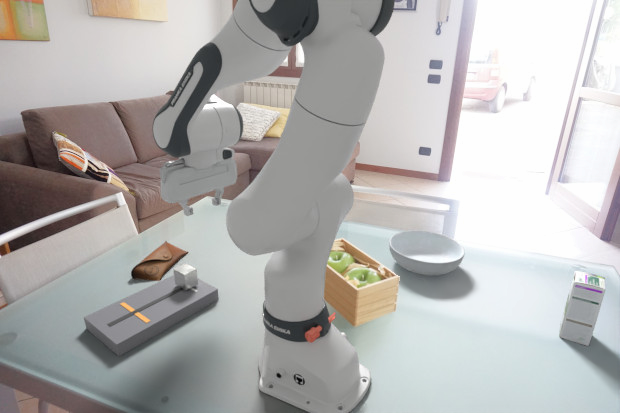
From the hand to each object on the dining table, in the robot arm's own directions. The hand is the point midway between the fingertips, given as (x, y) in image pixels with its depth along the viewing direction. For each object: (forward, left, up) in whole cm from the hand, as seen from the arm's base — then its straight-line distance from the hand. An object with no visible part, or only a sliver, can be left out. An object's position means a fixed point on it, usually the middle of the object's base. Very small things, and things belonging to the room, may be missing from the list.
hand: (203, 209), depth 101 cm
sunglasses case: (+19, +2, -22) cm, 29 cm away
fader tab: (0, +7, -18) cm, 19 cm away
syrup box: (-79, -38, -22) cm, 90 cm away
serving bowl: (-40, -46, -22) cm, 65 cm away
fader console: (0, +16, -21) cm, 27 cm away
